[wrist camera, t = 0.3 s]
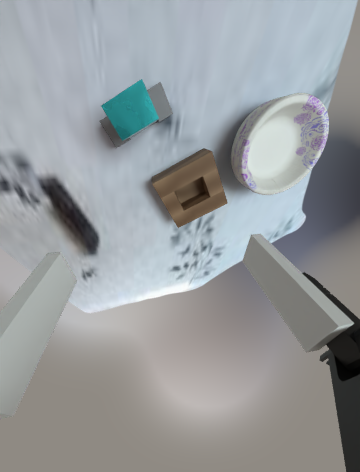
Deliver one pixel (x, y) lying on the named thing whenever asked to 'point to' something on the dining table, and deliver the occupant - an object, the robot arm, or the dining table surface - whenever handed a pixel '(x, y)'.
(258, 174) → the white floral bowl
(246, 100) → the dining table surface
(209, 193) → the port
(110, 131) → the pair of grey prisms
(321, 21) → the dining table surface
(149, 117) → the plug
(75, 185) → the dining table surface
